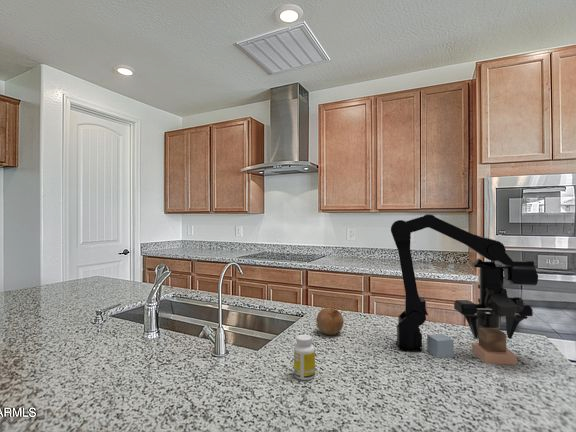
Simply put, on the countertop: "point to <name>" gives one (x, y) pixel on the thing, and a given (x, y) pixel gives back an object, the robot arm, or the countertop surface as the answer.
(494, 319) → the supplement bottle
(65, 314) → the countertop surface
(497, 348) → the walnut cube
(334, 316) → the onion
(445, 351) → the slate-blue cube
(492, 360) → the base block
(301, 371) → the supplement bottle
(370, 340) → the countertop surface
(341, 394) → the countertop surface
